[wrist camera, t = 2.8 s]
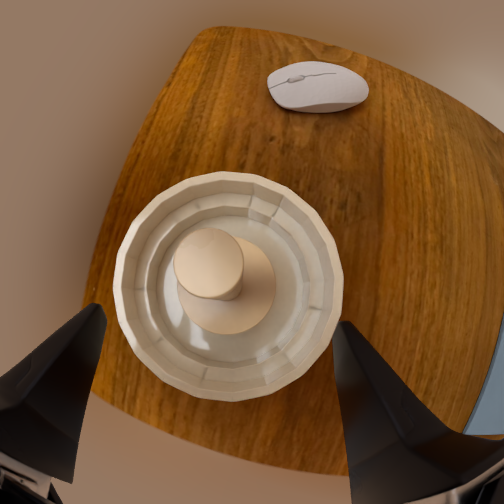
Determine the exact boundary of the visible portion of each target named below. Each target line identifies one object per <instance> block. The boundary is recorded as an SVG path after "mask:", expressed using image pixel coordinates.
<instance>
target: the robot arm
mask: <svg viewBox="0 0 504 504" xmlns="http://www.w3.org/2000/svg"><path fill="white" fill-rule="evenodd" d="M106 326H107V318H106V315H105V313H104V310H103V308H102V306H101V305H100V304H96V303H91V304H89V305H88V306H87V307H85V308H84V309H83V310H82V311H80V312H79V313H78V314H77V315H75V316H74V317H73V318H72V319H70V320H69V321H68V322H67V323H65V324H64V325H63V326H62V327H60V328H59V329H58V330H57V331H56V332H54V333H53V334H52V335H51V336H50V337H48V338H47V339H46V340H45V341H44V342H43V343H41V344H40V345H39V346H38V347H37V348H36V349H34V350H33V351H32V353H30V354H29V355H28V356H26V357H25V358H24V359H23V360H22V361H21V362H19V363H18V364H17V365H16V366H14V367H13V368H12V369H10V370H9V371H8V372H7V373H5V374H4V375H3V376H1V377H0V504H63V503H62V501H61V499H60V497H59V496H58V494H57V492H56V490H55V488H54V487H53V485H52V483H51V477H54V478H57V479H59V480H62V481H65V482H68V483H70V484H72V482H73V476H74V468H75V461H76V455H77V449H78V442H79V438H80V432H81V427H82V423H83V418H84V414H85V410H86V405H87V401H88V397H89V393H90V390H91V386H92V382H93V379H94V375H95V372H96V368H97V365H98V361H99V358H100V354H101V349H102V344H103V339H104V335H105V330H106ZM332 343H333V357H334V372H335V380H336V386H337V392H338V397H339V404H340V410H341V416H342V423H343V430H344V437H345V444H346V452H347V460H348V468H349V478H350V488H351V499H352V504H504V438H503V439H501V440H489V439H484V438H480V437H475V436H471V435H466V434H462V433H458V432H455V431H453V430H451V429H450V428H448V427H447V426H446V425H445V424H444V423H443V422H442V421H440V420H439V419H438V418H437V417H436V416H435V415H434V414H433V413H432V412H431V411H430V410H429V409H428V408H427V407H426V406H425V405H424V404H423V403H422V402H421V401H420V400H419V399H418V398H417V397H416V396H415V395H414V393H413V392H412V391H411V390H410V389H409V388H408V387H407V385H405V383H404V382H403V381H402V380H401V378H400V377H399V376H398V375H397V374H396V373H395V372H394V370H393V369H392V368H391V367H390V366H389V365H388V363H387V362H386V361H385V360H384V359H383V358H382V357H381V355H380V354H379V353H378V352H377V351H376V350H375V349H374V348H373V346H372V345H371V344H370V343H369V342H368V341H367V340H366V339H365V337H364V336H363V335H362V334H361V333H360V332H359V331H358V330H357V328H356V327H355V326H354V325H353V324H352V323H351V322H350V321H339V322H338V324H337V326H336V329H335V331H334V333H333V337H332Z"/></svg>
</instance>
